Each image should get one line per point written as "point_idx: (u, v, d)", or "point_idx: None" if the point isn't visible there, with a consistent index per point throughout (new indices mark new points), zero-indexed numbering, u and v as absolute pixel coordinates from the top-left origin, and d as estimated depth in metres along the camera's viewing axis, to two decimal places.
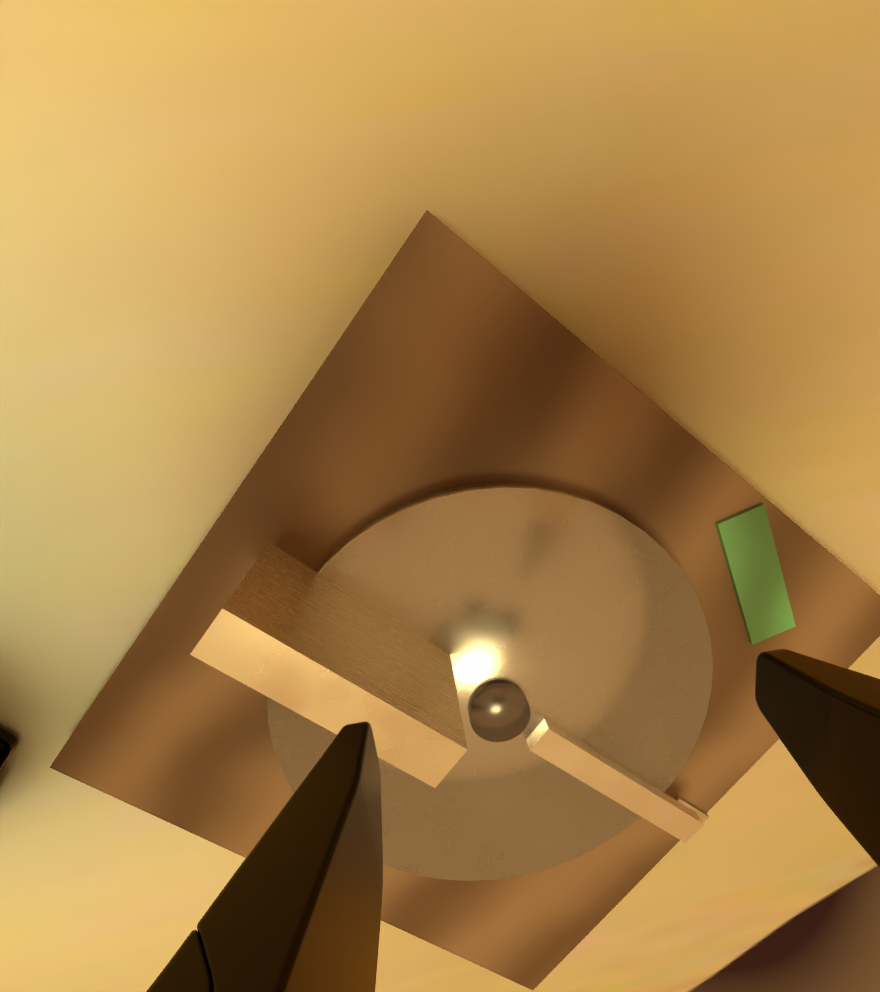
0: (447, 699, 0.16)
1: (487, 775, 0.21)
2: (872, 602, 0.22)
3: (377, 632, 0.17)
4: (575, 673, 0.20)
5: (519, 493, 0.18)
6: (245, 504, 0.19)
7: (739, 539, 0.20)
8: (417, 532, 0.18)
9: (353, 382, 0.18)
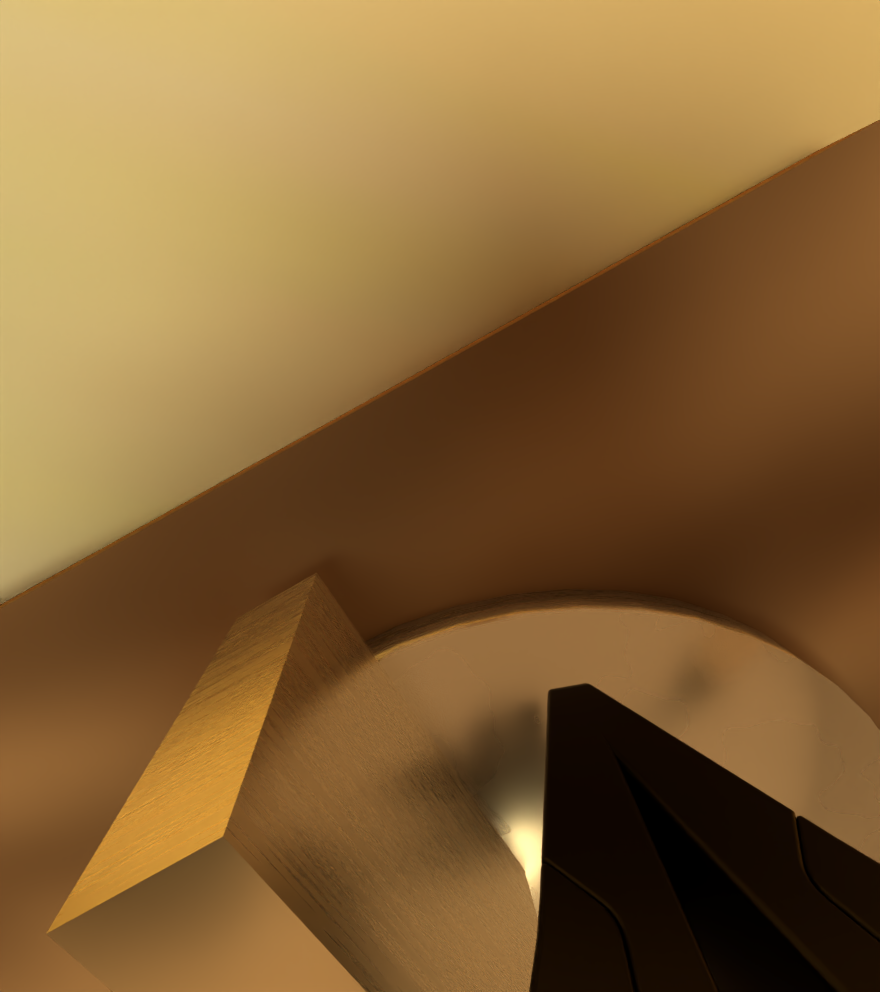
0: None
1: None
2: None
3: (460, 838, 0.08)
4: None
5: (775, 657, 0.10)
6: (305, 471, 0.09)
7: None
8: (584, 657, 0.10)
9: (605, 348, 0.09)
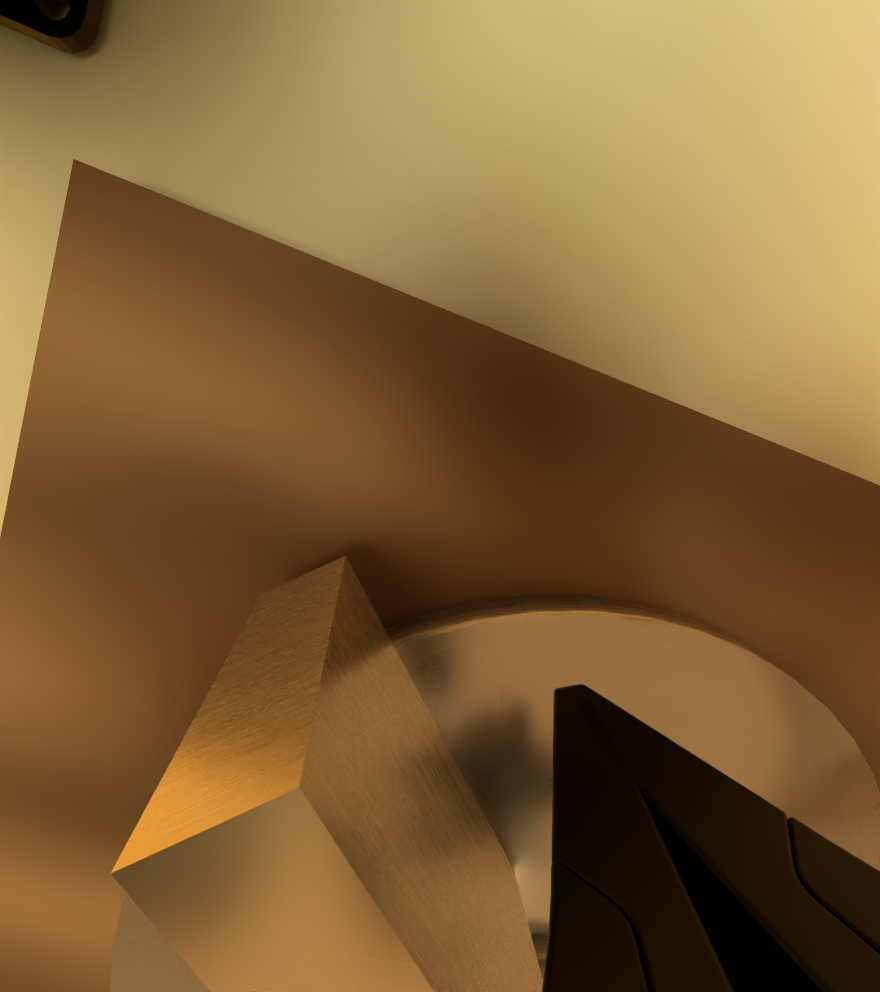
0: None
1: None
2: None
3: (465, 829, 0.08)
4: None
5: (773, 677, 0.10)
6: (782, 474, 0.11)
7: None
8: (594, 661, 0.10)
9: None
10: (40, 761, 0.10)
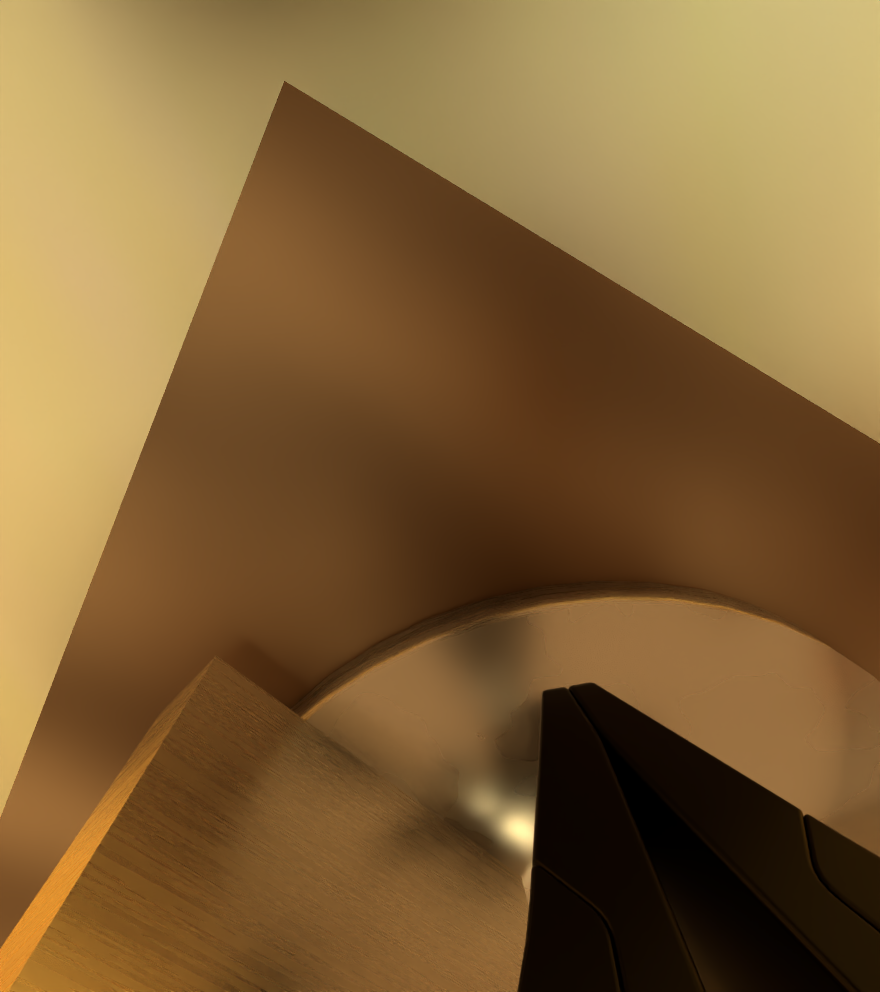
0: None
1: None
2: None
3: (410, 876, 0.08)
4: None
5: (708, 617, 0.10)
6: None
7: None
8: (506, 666, 0.09)
9: None
10: (136, 687, 0.10)
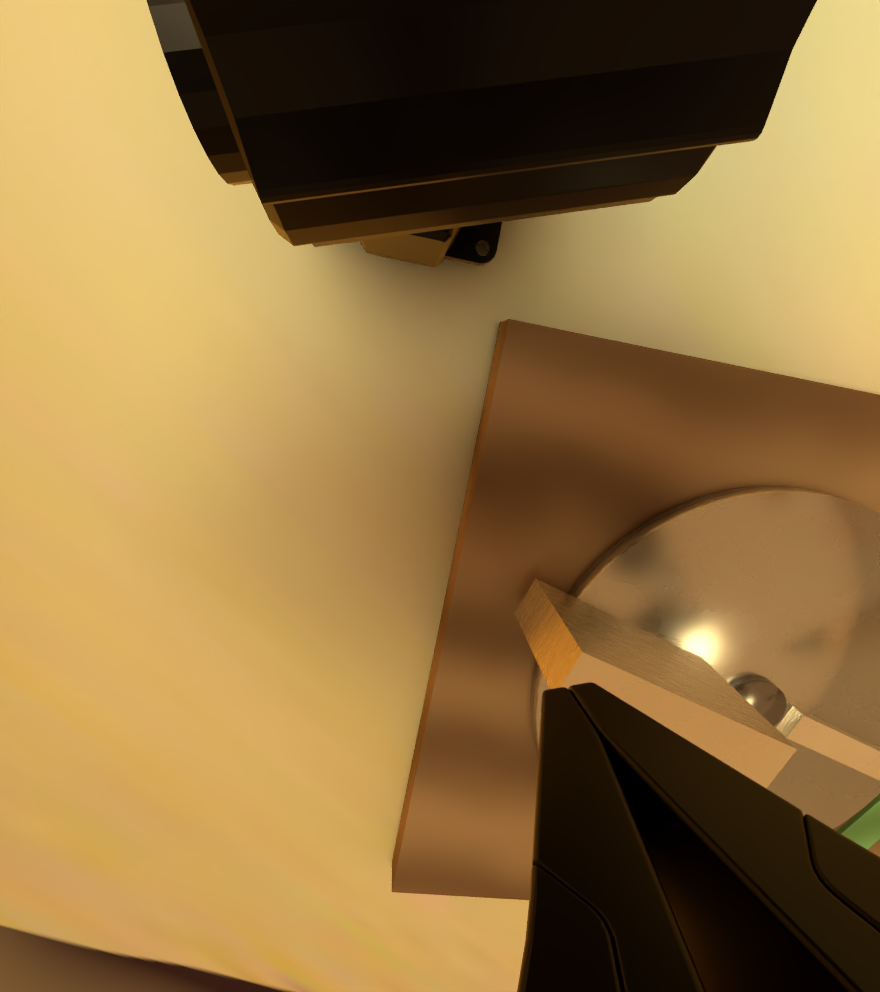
0: (744, 703, 0.17)
1: None
2: None
3: (657, 649, 0.18)
4: (820, 659, 0.21)
5: (764, 498, 0.19)
6: (856, 404, 0.19)
7: None
8: (669, 549, 0.19)
9: None
10: (485, 611, 0.20)
